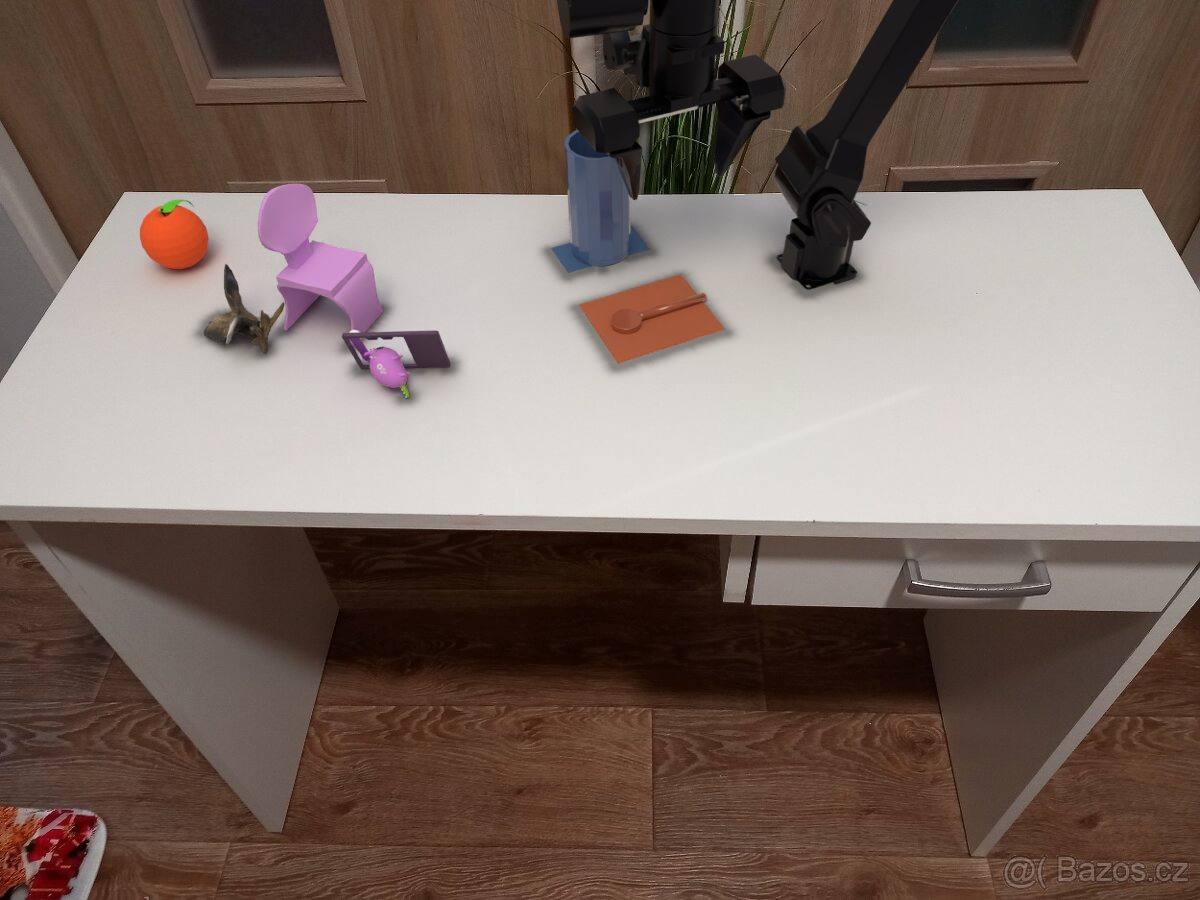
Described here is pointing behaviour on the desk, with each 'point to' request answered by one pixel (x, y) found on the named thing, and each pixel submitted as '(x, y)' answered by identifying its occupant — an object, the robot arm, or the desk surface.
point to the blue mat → (573, 265)
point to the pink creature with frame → (387, 361)
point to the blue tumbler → (596, 204)
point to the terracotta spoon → (648, 314)
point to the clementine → (174, 236)
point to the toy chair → (314, 260)
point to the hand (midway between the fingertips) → (676, 186)
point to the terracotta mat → (651, 319)
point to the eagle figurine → (240, 317)
